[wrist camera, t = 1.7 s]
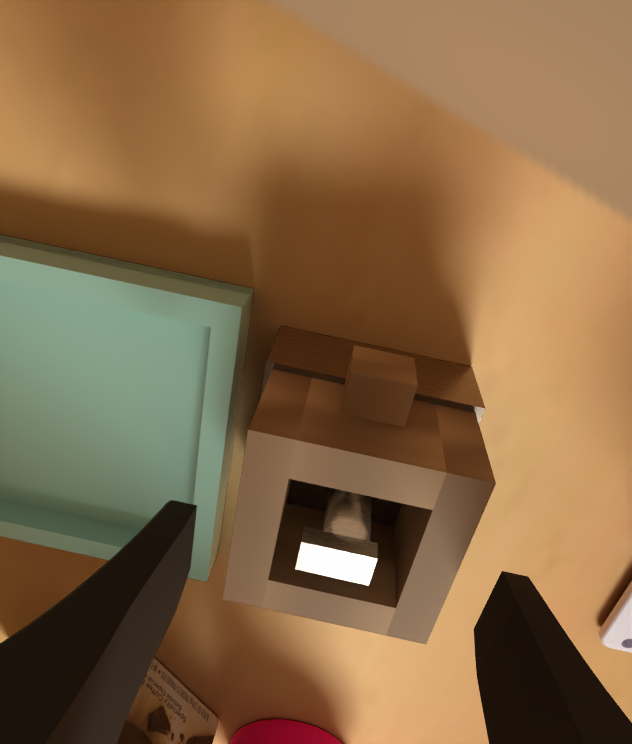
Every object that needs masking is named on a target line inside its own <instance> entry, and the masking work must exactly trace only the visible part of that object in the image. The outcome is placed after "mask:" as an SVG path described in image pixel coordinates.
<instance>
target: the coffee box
mask: <svg viewBox="0 0 632 744" xmlns="http://www.w3.org/2000/svg"><path fill="white" fill-rule="evenodd" d="M217 724H218V718H217V717H216V716H215V715H214V714H213V713H212V712H211V711H210V710H209V709H208V708H207V707H206V706H205V705H204V704H202V703H201V702H200V701H199V700H198V699H197V698H196V697H195V696H194V695H193V694H192V693H191V692H190V691H189V690H188V689H187V688H186V687H185V686H183V685H182V684H181V683H180V682H179V681H178V680H177V679H176V678H175V677H174V676H173V675H172V674H171V673H170V672H169V671H168V670H167V669H166V668H165V667H163V666H162V665H161V664H160V663H159V662H158V661H157V660H156V659H155V658H154V659H153V661H152V663H151V665H150V668H149V670H148V672H147V674H146V676H145V678H144V680H143V683H142V685H141V687H140V689H139V691H138V693H137V696H136V698H135V700H134V702H133V704H132V706H131V709H130V711H129V714H128V716H127V718H126V721H125V723H124V725H123V728H122V731H121V734H120V736H119V739H118V742H117V744H212V743H213V739H214V736H215V732H216V729H217Z"/></svg>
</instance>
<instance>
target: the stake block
mask: <svg viewBox="0 0 632 744" xmlns="http://www.w3.org/2000/svg"><path fill="white" fill-rule="evenodd" d="M354 345H356V346H360V347H365V348H370V349H374V350H379V351H383V352H388V353H393V354H397V355H402V356H407V357H411V358H415V367H416V375H417V384H418V386H417V389H416V393H415V396H414V399H413V400H418V401H422V402H427V403H432V404H436V405H441V406H446V407H450V408H455V409H460V410H464V411H469V412H473V413H476V417H477V420H478V424H479V423H480V420H481V418H482V415H483V413H484V410H485V406H484V403H483V400H482V397H481V394H480V391H479V388H478V385H477V382H476V378H475V375H474V372H473V369H472V367H470V366H466V365H461V364H456V363H452V362H447V361H442V360H438V359H433V358H428V357H424V356H419V355H414V354H410V353H405V352H400V351H396V350H391V349H387V348H382V347H377V346H373V345H368V344H363V343H359V342H354V341H349V340H345V339H340V338H335V337H331V336H326V335H321V334H317V333H312V332H307V331H303V330H298V329H293V328H289V327H284V326H281V328H280V331H279V333H278V335H277V338H276V340H275V342H274V344H273V347H272V349H271V351H270V354H269V356H268V358H267V360H266V366H265V372H264V378H263V385H262V391H261V396H262V394H263V391H264V389H265V386H266V384H267V381H268V379H269V376H270V374H271V371H272V369H274V370H279V371H284V372H288V373H293V374H297V375H302V376H307V377H311V378H316V379H321V380H325V381H330V382H335V383H339V384H344V385H345V381H346V377H347V373H348V369H349V365H350V361H351V356H352V352H353V348H354ZM260 399H261V397H260ZM286 503H287V504H292V505H297V506H301V507H306V508H310V509H315V510H319V511H324V512H326V513H325V520H324V527H323V531H320V530H316V529H311V528H307V527H304V530H303V534H302V539H301V543H300V547H299V552H298V557H297V562H296V567H295V569H296V570H301V571H305V572H310V573H315V574H319V575H324V576H328V577H333V578H337V579H342V580H346V581H351V582H355V583H360V584H364V585H369V583H370V580H371V577H372V574H373V571H374V568H375V565H376V562H377V556H378V543H375V542H370V532H371V522H374V523H379V524H383V525H388V526H392V527H394V526H395V523H396V520H397V517H398V514H399V511H400V508H401V505H402V503H398V502H393V501H389V500H384V499H380V498H375V497H371V496H366V495H361V494H357V493H352V492H348V491H343V490H338V489H334V488H329V487H325V486H320V485H316V484H311V483H306V482H302V481H297V480H293V479H291V483H290V488H289V492H288V497H287V502H286Z"/></svg>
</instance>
